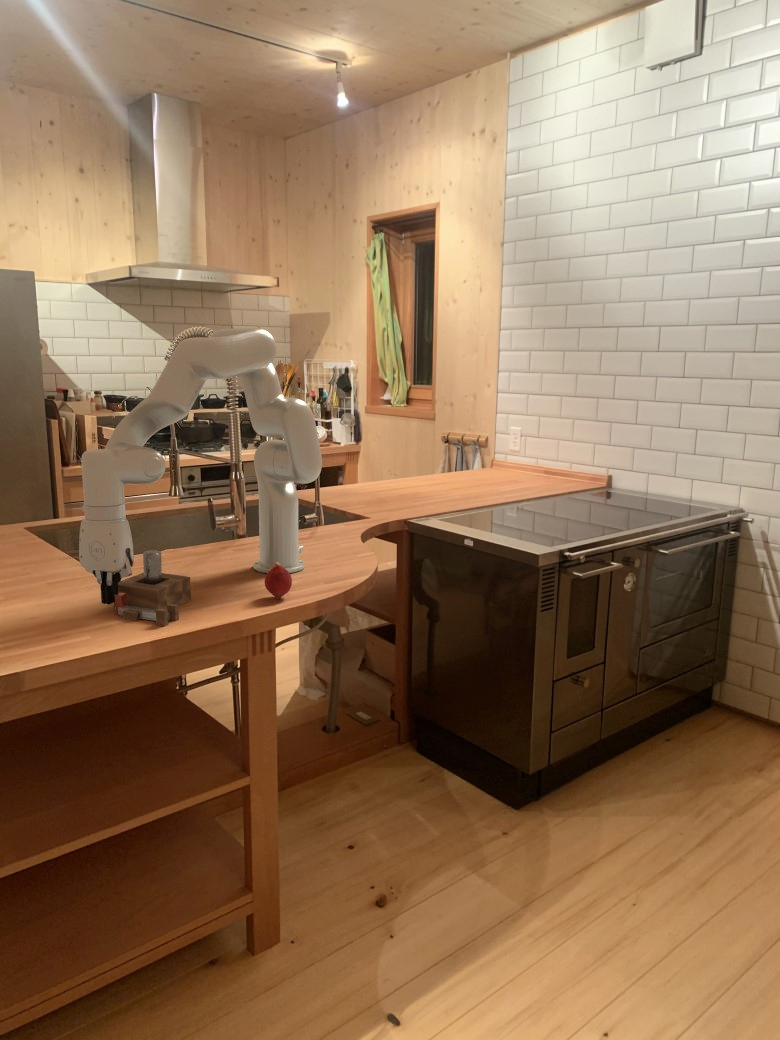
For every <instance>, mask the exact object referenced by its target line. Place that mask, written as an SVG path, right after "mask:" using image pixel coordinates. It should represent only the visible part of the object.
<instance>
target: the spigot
mask: <svg viewBox="0 0 780 1040" xmlns="http://www.w3.org/2000/svg"><path fill="white" fill-rule="evenodd" d="M142 561H143V564H142V566H143V573H144V584H150V585H156V584H159V583H161V582H162V573H163V568H162V566H163V564H162V562H163V561H162V551H160V550H158V549H148V550H146V551H143V553H142Z"/></svg>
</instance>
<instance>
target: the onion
mask: <svg viewBox="0 0 780 1040" xmlns="http://www.w3.org/2000/svg"><path fill="white" fill-rule="evenodd" d="M264 578H265V579H264V587H265V588H266V590H267V592H269V593H270V594H271V595H272V596H274V598H276V599H280V598H282V597H283V596H285V595H286V594H287V593H288V592H289V591H290V590H291V588H292V584H293V578H292V575H291V573H289V572H288V571H287V570H286V569H285V568H284V567H282V566H281V565H280V564H279V563H278V562H276V563H275V567H273V568H272V569H271V570H270V571H269V572H268V573H266V575H265V576H264Z"/></svg>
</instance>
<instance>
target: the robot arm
mask: <svg viewBox="0 0 780 1040" xmlns="http://www.w3.org/2000/svg"><path fill="white" fill-rule="evenodd" d="M277 351H278V349H277V343H276V339H275V338H274V336H273V335H272V334H271V333H270V332H269V331H267V330H266V329H262V328H259V327H258V328H249V327H248V328H238V327H236V328H235V327H234V328H223V329H222V328H221V329H218V330H215V331H213V332H212V334H211V335H210V336H209V337H189V338H185V339H182V340H181V341H180V342H178V344H177V345H176V346H175V348H174V350H173V352H172V354H171V355H170V357H169V359H168V361H167V362H166V364H165V366H164V368H163V370H162V372H161V374H160V375H159V377H158V379H157V381H156V383H155V385H154V386H153V388H152V390H151V391H150V393H149V394H148V395H147V397H145V398H144V399H143V400H141V401H140V402H139V403H138V404H137V405H136V406H135V407H134V408H133V409H132V410H130V411H129V413H126V415H125V416H124V417H123V418H122V419H121V420H120V422H118V424H117V426H116V427H115V429H114V430H113V431H112V434H111V436H110V438H109V439H108V441H107V442H106V445H105V446H104V448H95V449H89V450H85V451H84V452H83V453H82V455H81V458H80V459H81V460H80V462H81V477H82V493H83V494H82V495H83V505H82V506H81V511H82V512H84V518H83V519H82V518H81V522H80V527H79V540H78V541H79V542H78V543H79V545H78V547H79V548H78V550H79V551H78V553H79V556H78V558H79V559H78V560H79V564H80V566H81V567H82V568H83V569H84V570H85V571H86V572H88V573H90V574H93V576H94V577H95V578H96V582H97V584H98V585H100V600H101V601H100V602H101V604H103V605H108V606H109V605H111V604H114V602H115V594H117V593H118V582H120V581H122V579H123V578H129V577H130V576H131V577H132V575H133V570H132V567H133V566H134V562H135V561H134V558H135V556H134V543H133V538H132V531H131V528H130V523H129V520H128V519H127V517H126V515H127V514H126V503H125V502H126V501H125V500H126V499H125V497H126V496H125V485H140V486H141V485H144V486H145V485H151V484H153V483H156V482H157V481H159V480H160V479H162V477H163V476H164V474H165V472H166V467H167V465H166V460H165V458H164V457H163V455H162V454H161V452H159V451H157V449H154V448H151V447H148V446H145V445H146V443H147V441H148V440H149V439H150V438H151V437H152V436H154V435H155V434H156V433H158V432H159V431H160V430H162V429H165V428H166V427H168V426H170V425H173V424H175V423H177V422H179V421H182V420H183V419H185V418H186V417H187V416H188V415H189V414H190V411H191V410H192V407H193V406H194V404H195V402H196V400H197V399H198V396H199V394H200V392H201V390H202V388H203V387H204V385H205V384H206V381H207V380H225V379H226V380H227V379H232V378H236V377H237V378H238V379H239V381H240V383H241V386H242V390H243V393H244V397H245V401H246V405H247V410H248V414H249V418H250V422H251V426H252V429H253V430H254V432H255V433H256V434H258V435H260V436H263V437H267V438H276V439H270V440H265V441H263V442H262V443H260V445H258V446H257V448H256V450H255V452H254V455H253V466H254V471H255V475H256V479H257V480H256V481H257V488H258V491H257V492H258V517H259V518H258V523H259V524H258V525H259V526H258V527H259V529H258V530H259V531H258V534H259V535H258V536H259V543H258V544H259V559H257V560H256V561H254V562H253V569H254V570H255V571H256V572H259V573H262V574H263V573H264V574H267V573H268V572H269V571H270V570H271V569H272V568H273V567H275V563H276V562H278V563H279V564H280V565H281V566H282V567H284V568H285V569H286V570H287V571H288V572H289V573H290V574H291V573H297V572H300V571H302V570H303V569H304V568H305V564H306V563H305V561H304V560H303V559H301V558H299V556H300V554H301V553H304V551H305V548H304V547H305V546H303V545H302V544H299V496H298V491H297V487H296V485H295V483H297V484H310V483H312V482H314V481H316V480H317V479H318V478H319V476H320V474H321V472H322V467H323V457H322V450H321V445H320V439H319V435H318V429H317V428H318V427H317V424H316V420H315V416H314V413H313V411H312V409H311V407H310V405H308V403H306V401H304V400H302V399H301V398H296V397H286V396H284V393H283V391H282V387H281V383H280V380H279V375H278V373H277V370H276V368H275V366H274V364H273V362H274V360H275V358H276V355H277ZM282 439H284V440H282Z"/></svg>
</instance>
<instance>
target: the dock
mask: <svg viewBox="0 0 780 1040" xmlns="http://www.w3.org/2000/svg"><path fill="white" fill-rule="evenodd" d="M191 592H192V588H191V576H188V575H187V576H185V575H180V574H172V573H166V572H165V573H163V572H162V582H161V583H159V584H156V585H150V584H144V572H141V573H139V574H136V575H133V576H131V577H130V576H129V577H127V578H126V579H123V580H122V579H121V581H120V582H118V593H127V605H129V606H135V607H142V608H148V609H155V610H156V621H155V624H156V626H161V627H166V626H168V625H169V621H173V622H174V621H175V622H176V621H179V620H180V613H179V609H180V608H179V605H182V604H184V603H186V602H188V601H191V600H192V596H191V595H192V593H191ZM113 608H114V609H115V602H114V603H113ZM168 612H170V620H169V621H168ZM122 617H123V620H128V621H134V622H136V621H139V618H138V612H134V611H128V610H125V611H123V616H122Z"/></svg>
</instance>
